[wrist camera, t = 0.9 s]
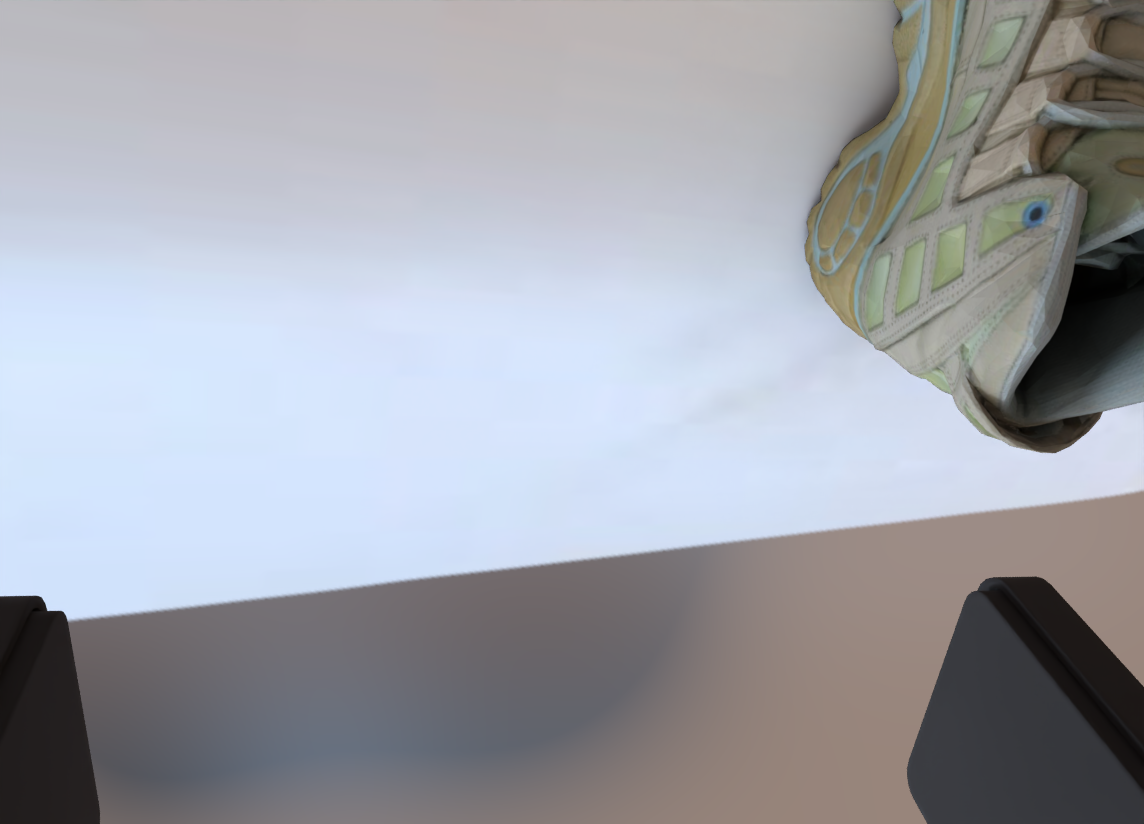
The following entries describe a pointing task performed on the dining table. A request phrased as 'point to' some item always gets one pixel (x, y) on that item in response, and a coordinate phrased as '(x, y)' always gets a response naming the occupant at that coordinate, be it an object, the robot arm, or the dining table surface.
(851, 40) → the dining table surface
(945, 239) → the sneaker
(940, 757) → the robot arm
